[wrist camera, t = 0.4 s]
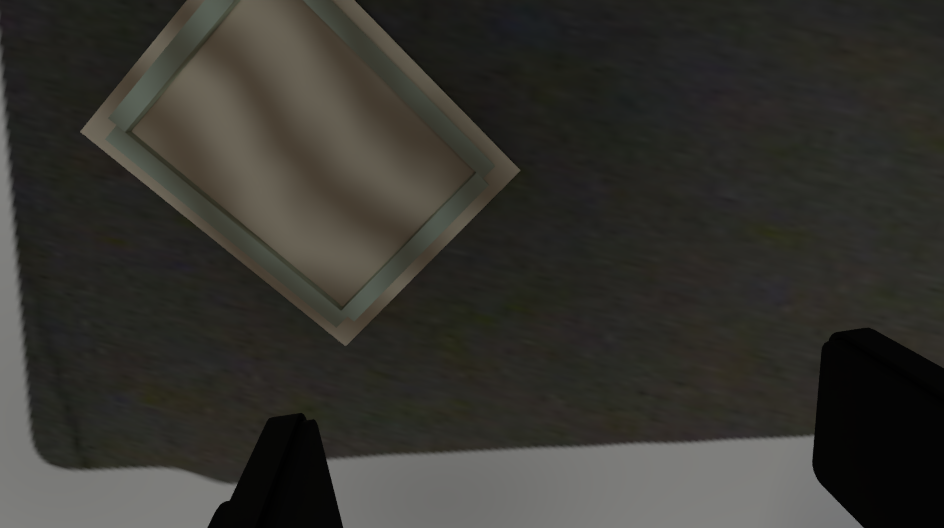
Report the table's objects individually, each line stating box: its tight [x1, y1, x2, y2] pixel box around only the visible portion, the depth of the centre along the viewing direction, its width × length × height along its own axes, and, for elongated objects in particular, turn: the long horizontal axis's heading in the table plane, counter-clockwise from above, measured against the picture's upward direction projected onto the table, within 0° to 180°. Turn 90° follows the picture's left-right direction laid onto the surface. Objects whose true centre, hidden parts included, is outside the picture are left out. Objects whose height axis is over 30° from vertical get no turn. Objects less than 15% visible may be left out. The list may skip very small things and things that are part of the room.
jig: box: [80, 0, 520, 346], centre depth 37 cm, size 18×22×2 cm
